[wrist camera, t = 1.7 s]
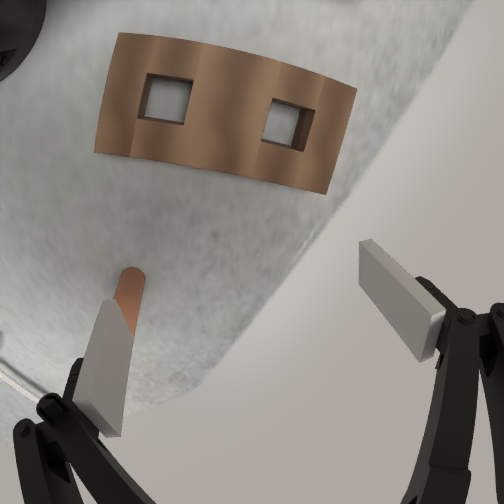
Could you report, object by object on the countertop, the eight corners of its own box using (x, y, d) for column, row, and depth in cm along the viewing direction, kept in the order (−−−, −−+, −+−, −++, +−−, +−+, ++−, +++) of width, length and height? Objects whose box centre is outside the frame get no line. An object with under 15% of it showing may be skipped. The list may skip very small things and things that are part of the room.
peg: (120, 286, 39) (102, 351, 28) (121, 265, 37) (100, 327, 27) (144, 290, 39) (132, 356, 29) (146, 269, 38) (133, 332, 28)
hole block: (105, 145, 31) (93, 152, 27) (128, 40, 26) (118, 32, 22) (311, 184, 37) (325, 195, 33) (339, 89, 32) (357, 88, 28)
